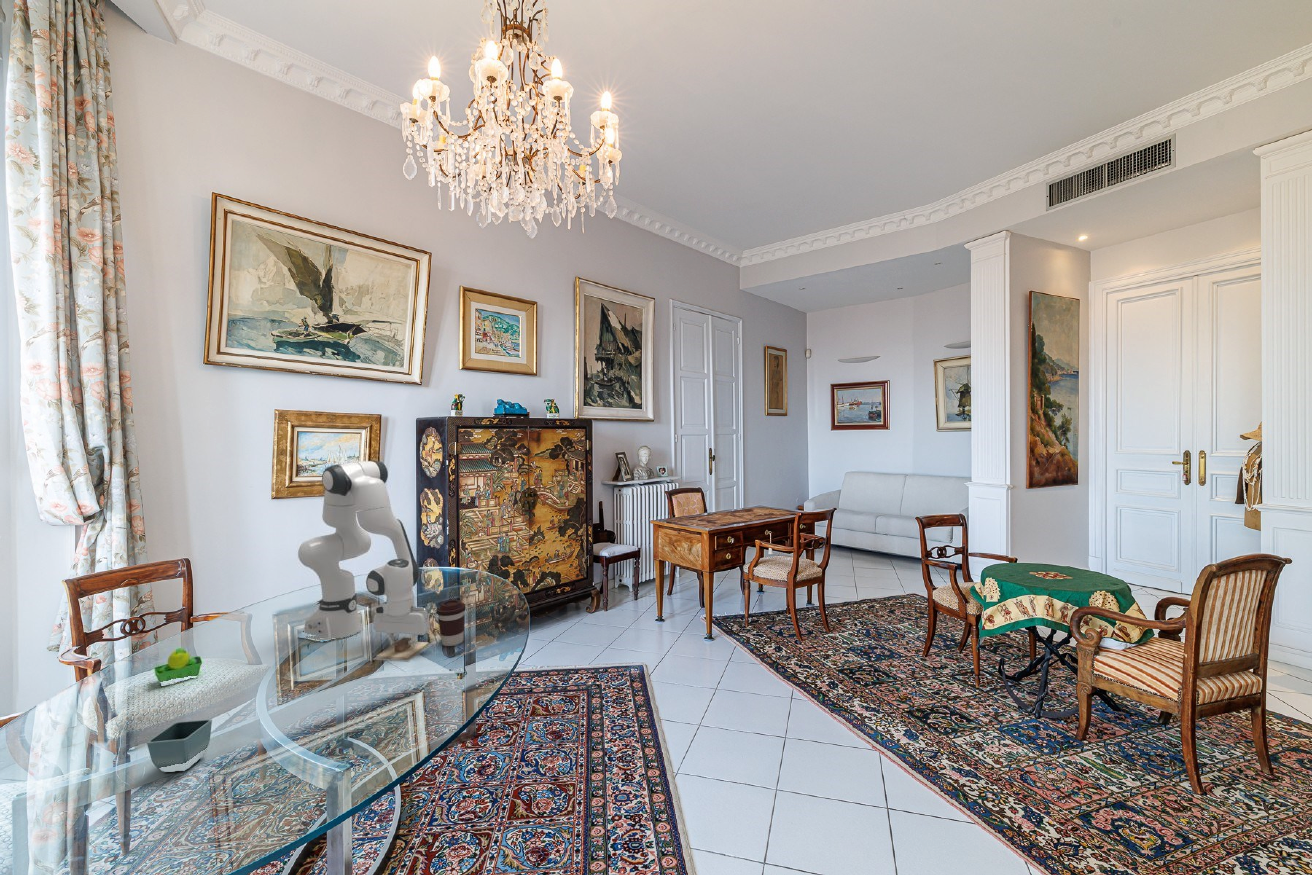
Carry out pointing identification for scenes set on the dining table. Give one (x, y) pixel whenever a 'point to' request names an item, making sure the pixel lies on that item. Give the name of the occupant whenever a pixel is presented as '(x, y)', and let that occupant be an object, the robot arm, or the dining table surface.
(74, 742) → the dining table surface
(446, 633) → the coffee cup
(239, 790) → the dining table surface
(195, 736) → the flower pot
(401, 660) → the mat
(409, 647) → the lid
